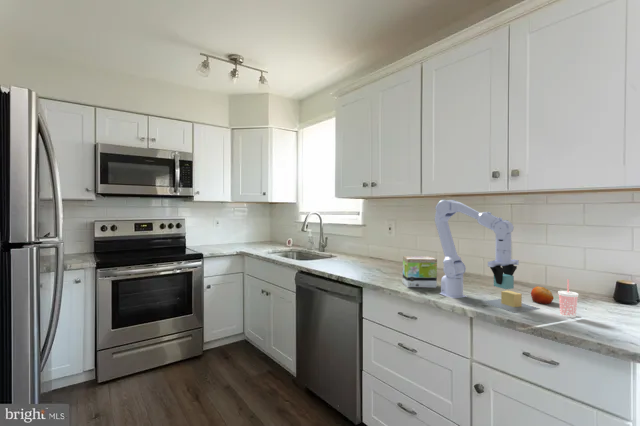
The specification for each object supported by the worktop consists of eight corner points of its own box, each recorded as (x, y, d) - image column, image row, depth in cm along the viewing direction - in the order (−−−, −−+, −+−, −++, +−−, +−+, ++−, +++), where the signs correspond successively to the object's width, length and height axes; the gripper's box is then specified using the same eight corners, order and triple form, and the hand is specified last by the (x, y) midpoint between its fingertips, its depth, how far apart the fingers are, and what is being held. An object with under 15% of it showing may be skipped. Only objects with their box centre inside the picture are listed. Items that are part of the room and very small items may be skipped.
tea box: (407, 288, 167) (407, 258, 167) (402, 283, 177) (402, 255, 177) (437, 287, 167) (437, 258, 167) (430, 283, 177) (430, 255, 177)
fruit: (527, 295, 146) (538, 281, 143) (545, 308, 142) (557, 293, 139) (524, 299, 140) (535, 285, 137) (543, 312, 136) (555, 297, 133)
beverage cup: (569, 313, 126) (569, 277, 126) (582, 319, 120) (583, 280, 120) (553, 314, 126) (554, 277, 125) (566, 319, 120) (566, 281, 119)
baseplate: (480, 302, 141) (480, 301, 141) (505, 299, 146) (505, 298, 146) (514, 314, 126) (514, 312, 126) (540, 310, 131) (540, 308, 131)
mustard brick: (501, 303, 138) (501, 291, 138) (508, 302, 140) (508, 290, 139) (514, 307, 133) (514, 294, 132) (521, 306, 134) (521, 293, 134)
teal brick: (493, 285, 138) (493, 273, 138) (501, 285, 139) (501, 273, 139) (506, 289, 132) (506, 276, 132) (513, 288, 133) (513, 276, 133)
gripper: (498, 252, 129) (497, 287, 129) (525, 250, 134) (525, 283, 134) (483, 250, 136) (483, 283, 136) (510, 248, 141) (510, 280, 141)
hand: (503, 283), depth 136 cm, fingers closed on teal brick, 4 cm apart
